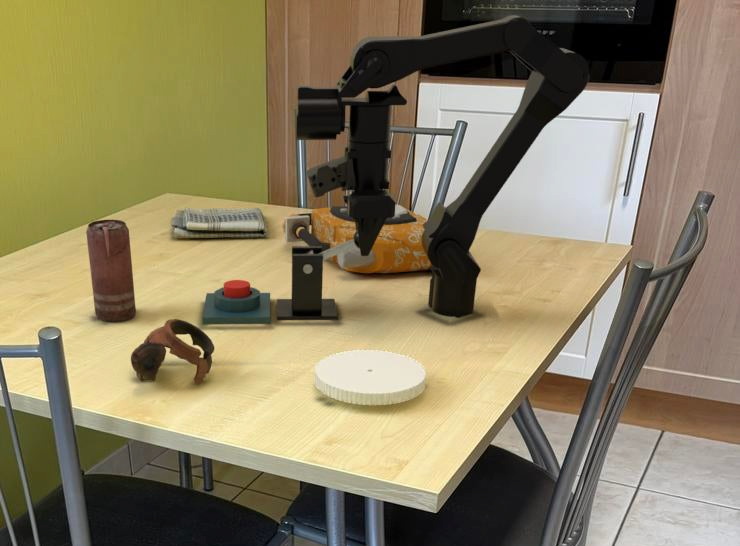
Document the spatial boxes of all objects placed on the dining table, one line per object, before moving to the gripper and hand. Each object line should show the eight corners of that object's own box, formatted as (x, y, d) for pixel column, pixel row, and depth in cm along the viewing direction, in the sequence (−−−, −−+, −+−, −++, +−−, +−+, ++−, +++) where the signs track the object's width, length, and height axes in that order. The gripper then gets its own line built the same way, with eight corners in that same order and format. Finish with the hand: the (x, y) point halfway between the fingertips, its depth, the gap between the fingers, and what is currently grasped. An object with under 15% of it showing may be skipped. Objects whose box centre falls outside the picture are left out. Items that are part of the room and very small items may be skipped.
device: (329, 240, 146) (275, 197, 170) (328, 291, 150) (275, 242, 175) (459, 228, 151) (389, 188, 175) (454, 278, 155) (386, 232, 180)
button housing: (270, 303, 145) (270, 281, 144) (270, 328, 136) (270, 305, 134) (207, 303, 146) (206, 281, 144) (202, 328, 136) (201, 305, 134)
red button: (250, 290, 141) (250, 279, 140) (250, 299, 137) (249, 288, 136) (224, 291, 141) (224, 279, 140) (223, 299, 137) (222, 288, 137)
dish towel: (262, 215, 192) (262, 199, 190) (268, 239, 177) (268, 222, 175) (173, 217, 191) (172, 201, 189) (171, 241, 176) (170, 224, 174)
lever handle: (377, 241, 136) (369, 221, 135) (379, 247, 134) (371, 226, 132) (302, 273, 139) (294, 253, 137) (302, 279, 136) (294, 260, 135)
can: (98, 325, 137) (88, 231, 130) (93, 311, 143) (83, 219, 135) (139, 321, 139) (131, 227, 131) (132, 308, 144) (124, 216, 137)
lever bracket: (334, 305, 144) (336, 243, 139) (337, 324, 137) (339, 258, 132) (276, 306, 144) (276, 243, 139) (276, 324, 137) (276, 258, 132)
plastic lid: (413, 366, 123) (415, 348, 122) (434, 411, 112) (436, 392, 110) (309, 368, 123) (309, 350, 122) (319, 414, 111) (320, 395, 110)
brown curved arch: (158, 359, 127) (186, 310, 123) (205, 403, 125) (234, 355, 121) (101, 367, 117) (128, 314, 113) (150, 415, 115) (180, 362, 111)
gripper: (308, 128, 135) (306, 235, 144) (313, 153, 120) (311, 272, 128) (384, 127, 135) (378, 235, 144) (399, 152, 119) (391, 271, 128)
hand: (363, 252), depth 136 cm, fingers closed on lever handle, 3 cm apart
